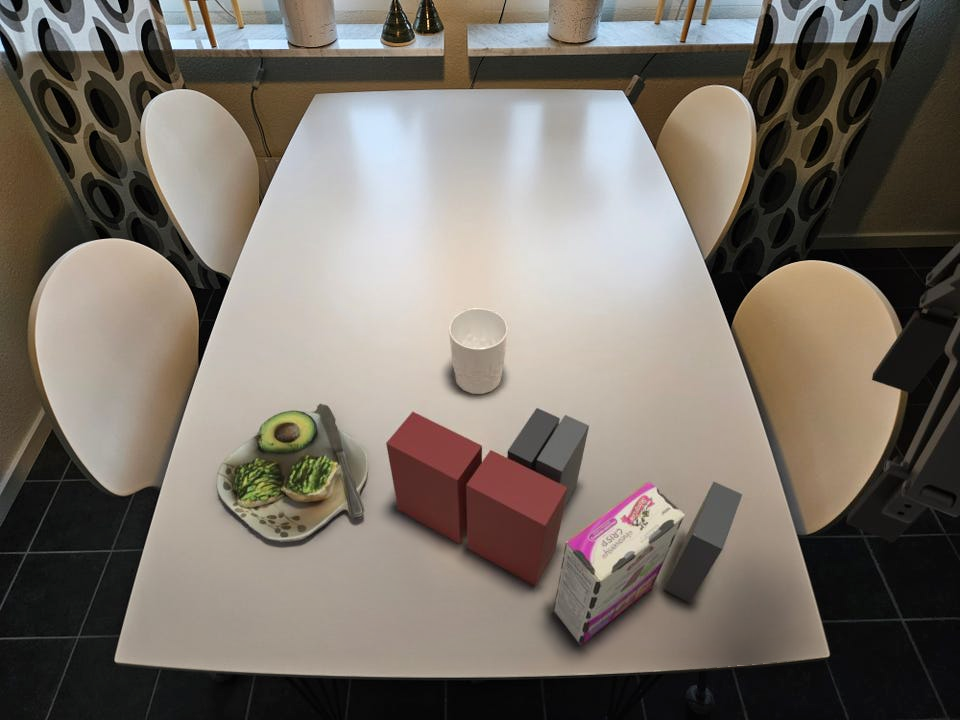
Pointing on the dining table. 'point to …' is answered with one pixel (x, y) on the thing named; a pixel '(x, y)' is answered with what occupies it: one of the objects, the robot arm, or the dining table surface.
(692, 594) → the grey boxes
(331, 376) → the dining table surface
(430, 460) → the maroon boxes
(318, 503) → the avocado toast plate
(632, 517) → the candy bar box
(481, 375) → the white cup
